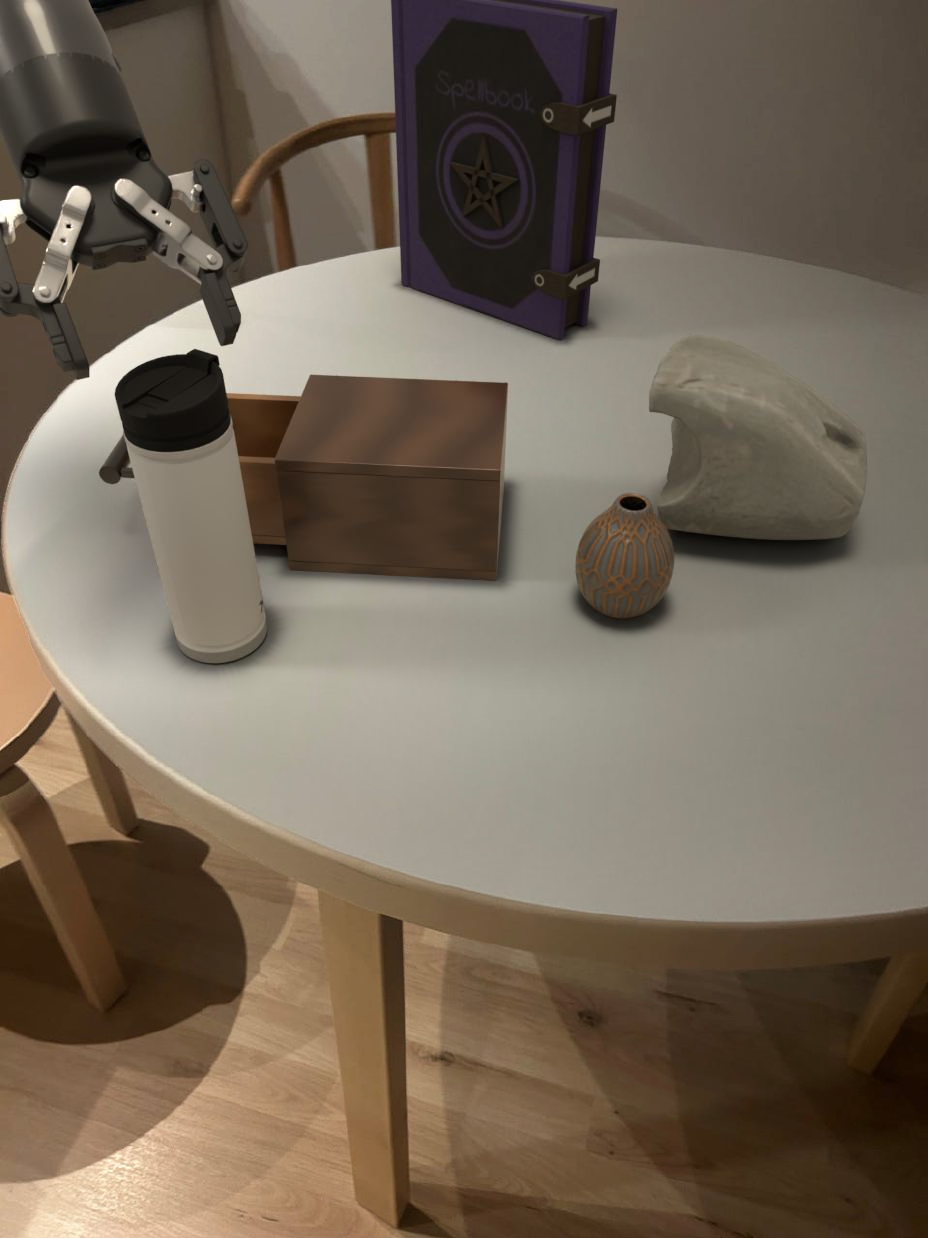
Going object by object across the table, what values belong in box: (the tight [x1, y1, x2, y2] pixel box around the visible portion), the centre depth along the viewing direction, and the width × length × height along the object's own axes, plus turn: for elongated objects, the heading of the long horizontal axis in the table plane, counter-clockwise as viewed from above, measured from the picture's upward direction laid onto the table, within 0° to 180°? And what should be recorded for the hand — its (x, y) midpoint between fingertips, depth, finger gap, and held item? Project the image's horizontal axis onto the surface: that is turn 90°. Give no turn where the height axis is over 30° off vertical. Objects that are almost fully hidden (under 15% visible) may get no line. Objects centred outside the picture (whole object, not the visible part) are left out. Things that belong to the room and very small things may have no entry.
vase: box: [575, 492, 675, 619], centre depth 68 cm, size 7×7×9 cm
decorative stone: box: [648, 333, 868, 541], centre depth 73 cm, size 12×17×15 cm
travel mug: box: [114, 348, 268, 664], centre depth 61 cm, size 6×7×20 cm
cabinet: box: [274, 374, 509, 582], centre depth 74 cm, size 16×13×10 cm
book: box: [390, 0, 618, 342], centre depth 100 cm, size 24×6×30 cm, turn 50°
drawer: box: [98, 392, 301, 546], centre depth 75 cm, size 20×12×8 cm, turn 86°
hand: (158, 356), depth 55 cm, fingers open, 8 cm apart
